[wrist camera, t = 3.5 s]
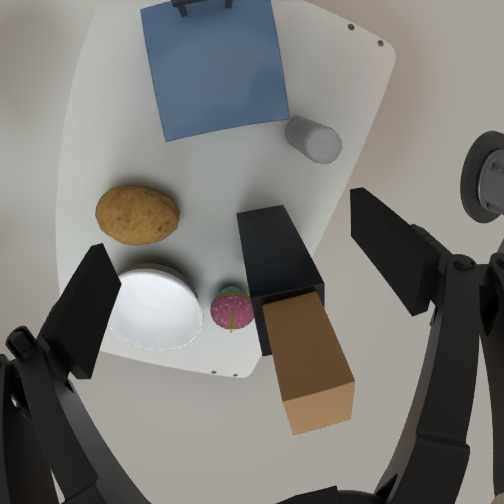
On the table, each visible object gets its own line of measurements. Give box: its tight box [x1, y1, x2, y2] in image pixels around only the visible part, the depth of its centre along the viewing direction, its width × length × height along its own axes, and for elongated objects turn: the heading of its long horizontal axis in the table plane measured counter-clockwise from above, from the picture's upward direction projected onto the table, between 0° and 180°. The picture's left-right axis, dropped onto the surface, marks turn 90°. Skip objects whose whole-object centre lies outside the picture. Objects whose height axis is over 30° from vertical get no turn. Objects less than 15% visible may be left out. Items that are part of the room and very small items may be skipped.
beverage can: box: [285, 118, 342, 164], centre depth 38 cm, size 5×5×12 cm
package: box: [262, 291, 355, 435], centre depth 28 cm, size 6×8×12 cm
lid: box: [140, 0, 290, 142], centre depth 25 cm, size 18×15×8 cm
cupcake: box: [210, 286, 254, 333], centre depth 53 cm, size 9×8×12 cm
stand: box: [237, 205, 325, 356], centre depth 43 cm, size 8×10×22 cm
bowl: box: [108, 263, 203, 351], centre depth 52 cm, size 19×19×8 cm
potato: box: [95, 186, 180, 245], centre depth 42 cm, size 10×13×9 cm
